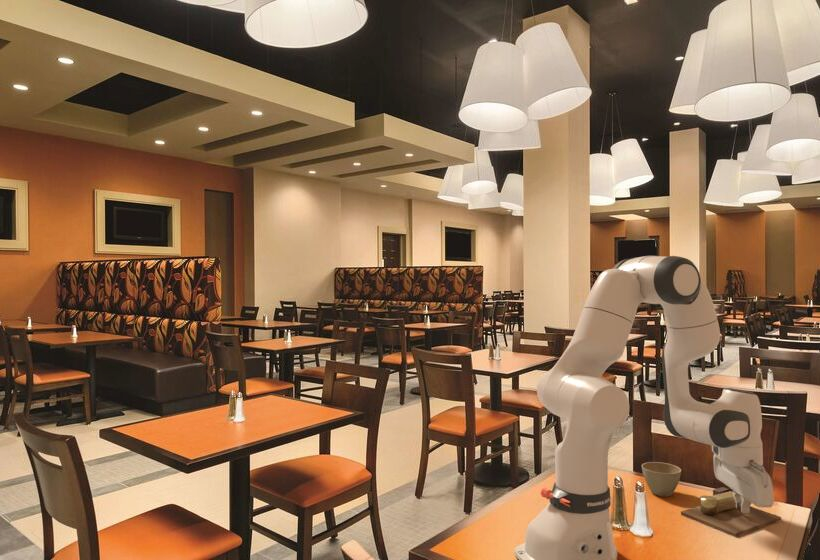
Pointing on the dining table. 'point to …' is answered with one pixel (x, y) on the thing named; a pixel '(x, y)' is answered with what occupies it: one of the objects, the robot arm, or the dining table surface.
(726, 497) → the bar
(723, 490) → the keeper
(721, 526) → the brown wooden board
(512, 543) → the dining table surface
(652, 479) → the flower pot
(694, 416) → the robot arm
